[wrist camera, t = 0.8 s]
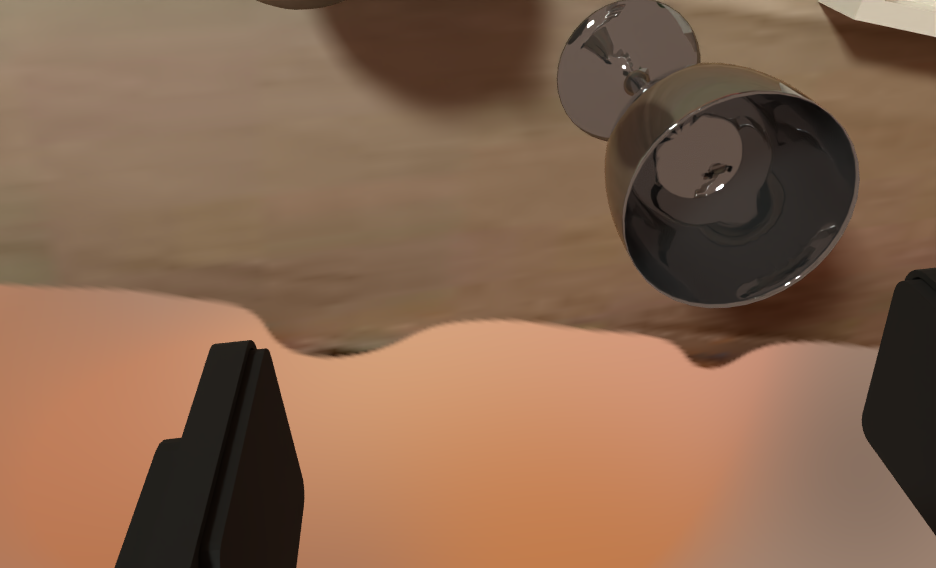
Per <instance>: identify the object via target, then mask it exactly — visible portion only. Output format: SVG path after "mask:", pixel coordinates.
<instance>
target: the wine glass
mask: <svg viewBox="0 0 936 568" xmlns="http://www.w3.org/2000/svg"><path fill="white" fill-rule="evenodd" d="M557 87H558V94H559V97H560V101H561V104H562V106H563V108H564V110H565V112H566V114H567V115H568V116H569V118H570V119H571V120H572V122H573V123H574V124H575V125H576V126H578V127H579V128H580V129H581V130H582V131H584V132H586V133H587V134H589V135H591V136H593V137H596V138H599V139H601V140H606V141H608V143H607V147H606V155H605V186H606V193H607V198H608V204H609V208H610V212H611V215H612V219H613V222H614V224H615V227H616V229H617V232H618V234H619V237H620V239H621V241H622V243H623V245H624V247H625V249H626V251H627V253H628V254H629V256H630V258H631V260H632V262H633V264H634V266H635V267H636V269H637V270H638V271H639V272H640V274H641V275H642V276H643V277H644V279H645V280H646V281H647V282H648V283H649V284H650V285H651V286H653V287H654V288H655V289H656V290H658V291H659V292H660V293H662V294H664V295H666V296H667V297H669V298H671V299H673V300H675V301H678V302H681V303H685V304H688V305H691V306H698V307H705V308H729V307H735V306H741V305H747V304H750V303H753V302H757V301H760V300H763V299H766V298H768V297H770V296H773V295H775V294H777V293H779V292H781V291H783V290H785V289H787V288H788V287H790V286H792V285H793V284H795V283H796V282H798V281H800V280H801V279H802V278H804V277H805V276H806V275H807V274H808V273H810V272H811V271H812V270H813V269H815V268H816V267H817V266H818V265H819V264H820V263H821V262H822V261H823V260H824V258H825V257H826V256H827V255H828V254H829V253H830V252H831V251H832V249H833V248H834V247H835V245H836V244H837V242H838V241H839V239H840V238H841V237H842V235H843V233H844V231H845V229H846V227H847V225H848V223H849V221H850V219H851V217H852V214H853V211H854V208H855V204H856V201H857V197H858V189H859V181H860V178H859V164H858V159H857V155H856V152H855V149H854V145H853V143H852V141H851V140H850V138H849V136H848V134H847V132H846V131H845V129H844V128H843V127H842V126H841V125H840V123H839V122H838V121H837V120H836V119H835V118H834V117H833V116H832V115H831V114H830V113H829V112H828V111H827V110H825V109H824V108H823V107H822V106H820V105H819V104H818V103H816V102H815V101H814V100H812V99H811V98H809V97H808V96H806V95H805V94H803V93H802V92H801V91H799V90H797V89H796V88H794V87H792V86H791V85H789V84H787V83H786V82H784V81H782V80H780V79H778V78H775V77H773V76H770V75H768V74H765V73H763V72H760V71H757V70H754V69H751V68H748V67H743V66H737V65H732V64H725V63H700V52H699V46H698V42H697V39H696V36H695V34H694V31H693V30H692V28H691V27H690V25H689V23H688V22H687V21H686V20H685V19H684V18H683V16H682V15H681V14H680V13H679V12H677V11H676V10H674V9H673V8H671V7H670V6H668V5H666V4H663V3H661V2H658V1H654V0H621V1H617V2H614V3H611V4H609V5H606V6H604V7H602V8H601V9H599V10H597V11H595V12H594V13H592V14H591V15H590V16H589V17H587V18H586V19H585V20H584V21H583V22H582V23H581V24H580V25H579V26H578V27H577V28H576V29H575V30H574V32H573V33H572V35H571V36H570V38H569V39H568V41H567V43H566V45H565V47H564V49H563V52H562V54H561V57H560V61H559V65H558V72H557Z"/></svg>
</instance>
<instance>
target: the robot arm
mask: <svg viewBox="0 0 936 568" xmlns="http://www.w3.org/2000/svg"><path fill="white" fill-rule="evenodd" d="M862 426H863V431H864V434H865V437H866V438H867V440H868V442H869V443H870V445H871V446H872V447H873V449H874V450H875V452H876V453H877V454H878V456H879V457H880V458H881V460H882V461H883V463H884V464H885V465H886V467H887V468H888V470H889V471H890V472H891V474H892V475H893V477H894V478H895V479H896V481H897V482H898V484H899V485H900V486H901V488H902V489H903V490H904V492H905V493H906V495H907V496H908V497H909V499H910V500H911V502H912V503H913V505H914V506H915V507H916V509H917V510H918V511H919V513H920V514H921V515H922V517H923V518H924V520H925V521H926V523H927V524H928V525H929V527H930V528H931V529H932V531H933V532H934V534H935V535H936V268H929V269H919V270H914V271H911V272H910V273H909V274H908V275H907V276H906V278H905V281H901V282H899V283H898V284H897V285H896V287H895V290H894V293H893V297H892V301H891V305H890V309H889V313H888V317H887V321H886V325H885V328H884V332H883V336H882V340H881V344H880V348H879V352H878V356H877V360H876V364H875V368H874V372H873V375H872V379H871V383H870V387H869V391H868V395H867V399H866V403H865V406H864V410H863V415H862ZM303 508H304V484H303V478H302V474H301V470H300V466H299V462H298V458H297V454H296V451H295V447H294V443H293V439H292V435H291V431H290V427H289V424H288V420H287V416H286V412H285V408H284V404H283V401H282V397H281V393H280V389H279V385H278V381H277V377H276V374H275V370H274V366H273V362H272V358H271V355H270V352H269V350H268V349H257V348H256V345H255V343H254V342H253V341H252V340H248V341H239V342H229V343H219V344H214V345H212V346H211V348H210V351H209V354H208V357H207V360H206V363H205V366H204V369H203V373H202V375H201V379H200V382H199V385H198V388H197V391H196V394H195V397H194V401H193V404H192V407H191V410H190V413H189V416H188V419H187V423H186V425H185V429H184V432H183V435H182V438H175V439H166V440H163V441H162V442H161V443H160V444H159V446H158V448H157V450H156V452H155V454H154V457H153V460H152V463H151V466H150V469H149V472H148V474H147V477H146V480H145V483H144V486H143V489H142V491H141V494H140V497H139V500H138V503H137V506H136V508H135V511H134V514H133V517H132V520H131V523H130V525H129V528H128V531H127V534H126V537H125V540H124V543H123V545H122V548H121V551H120V554H119V557H118V560H117V563H116V565H115V568H296V565H297V557H298V549H299V541H300V532H301V523H302V516H303Z"/></svg>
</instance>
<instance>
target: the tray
mask: <svg viewBox="0 0 936 568" xmlns="http://www.w3.org/2000/svg"><path fill="white" fill-rule="evenodd" d="M818 2H820V3H822V4H824V5H826V6H828V7H830V8H832V9H834V10H836V11H838V12H840V13H842V14H844V15H846V16H848V17H850V18H852V19H854V20H859V21H863V22H868V23H873V24H877V25H882V26H887V27H892V28H896V29H901V30H906V31H910V32H915V33H920V34H924V35H929V36H934V37H936V0H819V1H818Z"/></svg>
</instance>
